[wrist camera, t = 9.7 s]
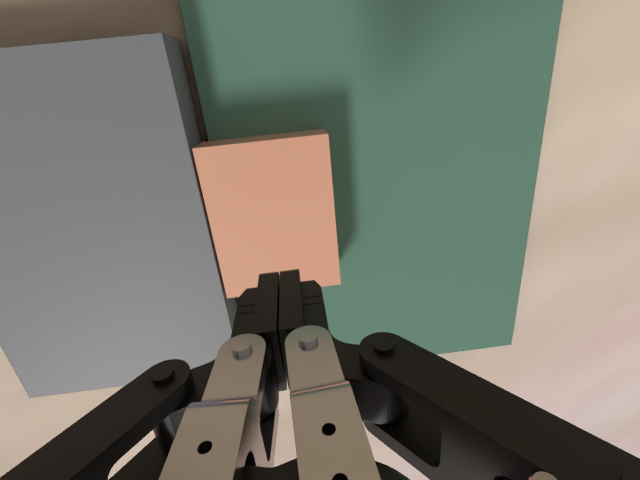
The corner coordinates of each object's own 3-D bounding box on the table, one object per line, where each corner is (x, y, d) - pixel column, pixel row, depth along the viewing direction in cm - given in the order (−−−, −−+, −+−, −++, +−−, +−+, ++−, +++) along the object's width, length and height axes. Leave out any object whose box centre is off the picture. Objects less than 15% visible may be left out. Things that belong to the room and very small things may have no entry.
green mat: (175, -30, 18) (171, -33, 17) (564, -64, 19) (573, -69, 18) (258, 371, 28) (258, 377, 28) (506, 339, 29) (511, 344, 28)
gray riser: (-93, 66, 19) (-160, 63, 16) (180, 40, 19) (161, 32, 16) (56, 365, 26) (29, 397, 24) (246, 341, 27) (241, 370, 24)
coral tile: (202, 141, 21) (192, 148, 18) (324, 128, 21) (328, 133, 18) (233, 278, 24) (227, 298, 22) (336, 265, 24) (340, 284, 22)
